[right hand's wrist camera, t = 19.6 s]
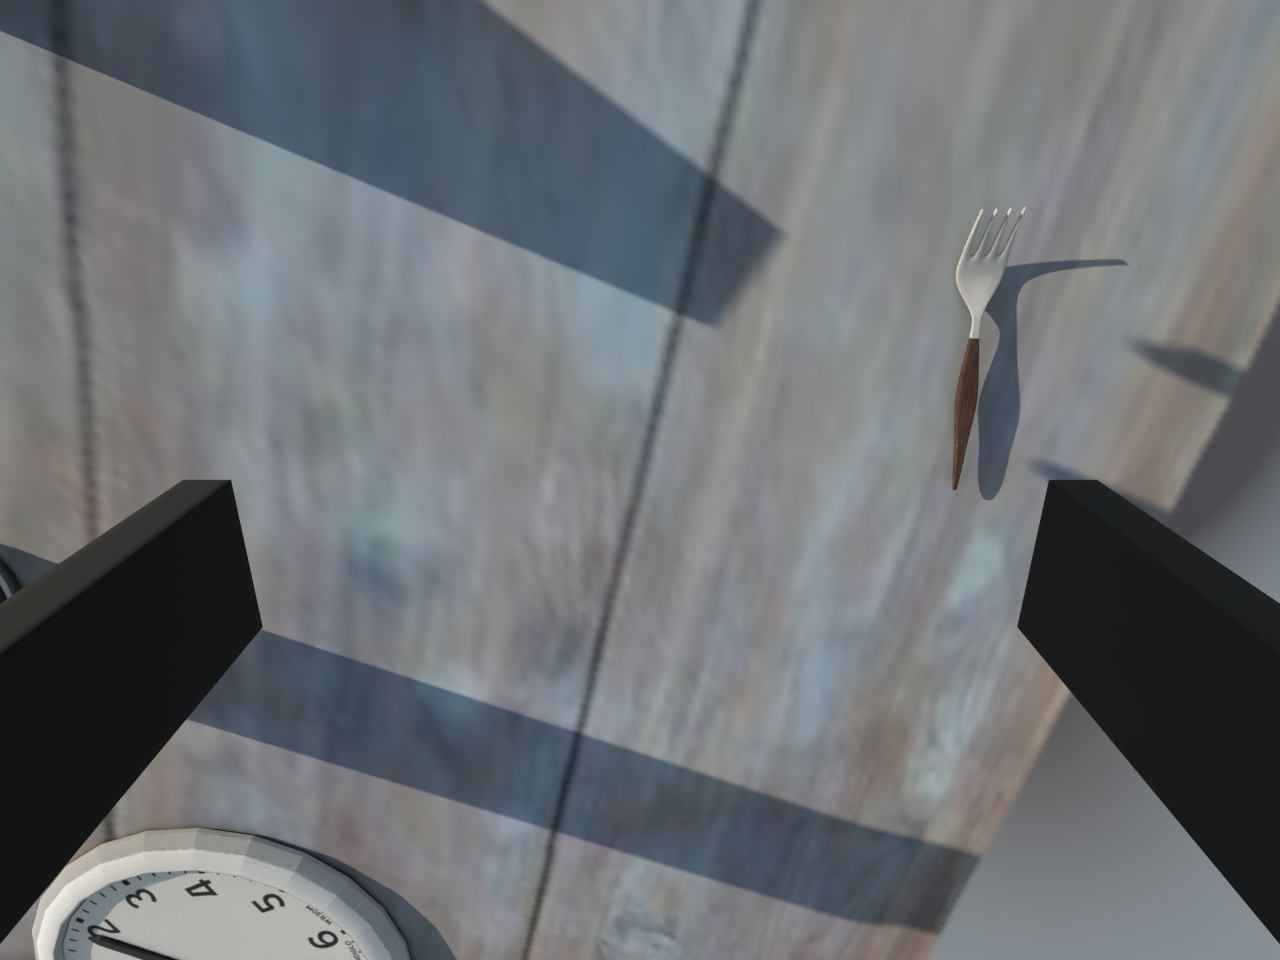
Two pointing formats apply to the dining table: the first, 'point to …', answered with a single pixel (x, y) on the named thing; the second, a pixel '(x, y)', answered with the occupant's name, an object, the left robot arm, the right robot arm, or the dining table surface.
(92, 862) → the wall clock
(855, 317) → the dining table surface
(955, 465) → the fork
